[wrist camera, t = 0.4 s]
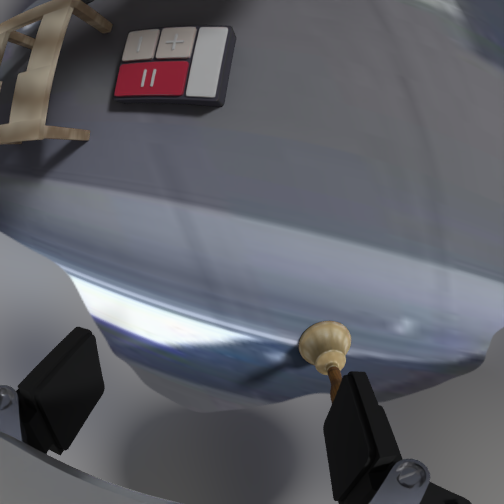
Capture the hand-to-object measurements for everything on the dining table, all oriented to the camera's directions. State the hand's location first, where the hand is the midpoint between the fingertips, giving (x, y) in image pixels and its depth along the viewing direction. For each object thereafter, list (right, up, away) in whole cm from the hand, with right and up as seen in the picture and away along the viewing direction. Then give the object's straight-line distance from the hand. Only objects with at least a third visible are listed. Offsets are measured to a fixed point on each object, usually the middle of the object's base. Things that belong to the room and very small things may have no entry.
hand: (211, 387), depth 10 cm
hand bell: (+13, -9, +34) cm, 38 cm away
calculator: (-9, +30, +25) cm, 40 cm away
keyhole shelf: (-30, +32, +25) cm, 50 cm away
